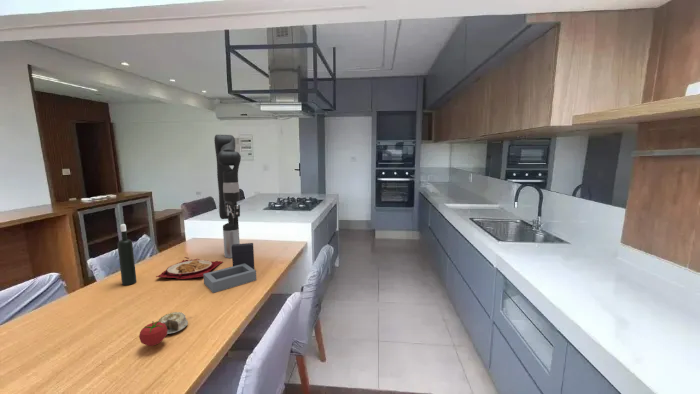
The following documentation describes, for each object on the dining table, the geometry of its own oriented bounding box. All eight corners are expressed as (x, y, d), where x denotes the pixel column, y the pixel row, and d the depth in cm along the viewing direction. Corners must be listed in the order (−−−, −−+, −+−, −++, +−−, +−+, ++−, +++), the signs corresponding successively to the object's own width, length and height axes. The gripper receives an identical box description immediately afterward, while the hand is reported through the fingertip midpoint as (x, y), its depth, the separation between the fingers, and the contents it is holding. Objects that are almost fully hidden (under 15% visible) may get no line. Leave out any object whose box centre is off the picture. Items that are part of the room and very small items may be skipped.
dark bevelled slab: (254, 267, 164) (253, 242, 162) (254, 270, 160) (252, 244, 158) (233, 269, 161) (232, 243, 159) (232, 272, 157) (231, 246, 155)
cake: (160, 322, 110) (158, 309, 109) (189, 317, 114) (188, 304, 113) (153, 337, 101) (152, 323, 100) (185, 331, 105) (184, 317, 104)
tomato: (173, 335, 102) (171, 315, 101) (159, 350, 94) (157, 328, 93) (150, 335, 102) (147, 315, 101) (134, 350, 94) (131, 328, 93)
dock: (204, 283, 144) (203, 273, 143) (245, 272, 158) (244, 263, 157) (213, 292, 134) (212, 282, 133) (256, 280, 148) (256, 270, 147)
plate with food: (155, 280, 147) (154, 273, 147) (183, 262, 173) (183, 256, 172) (201, 279, 147) (200, 273, 147) (223, 261, 173) (222, 256, 172)
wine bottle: (128, 285, 141) (122, 225, 137) (119, 284, 142) (112, 225, 138) (139, 280, 147) (133, 223, 143) (130, 279, 148) (123, 222, 144)
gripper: (218, 191, 148) (220, 223, 150) (229, 192, 138) (231, 227, 140) (233, 190, 154) (235, 221, 155) (244, 191, 143) (246, 224, 145)
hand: (233, 223), depth 148 cm, fingers open, 6 cm apart
